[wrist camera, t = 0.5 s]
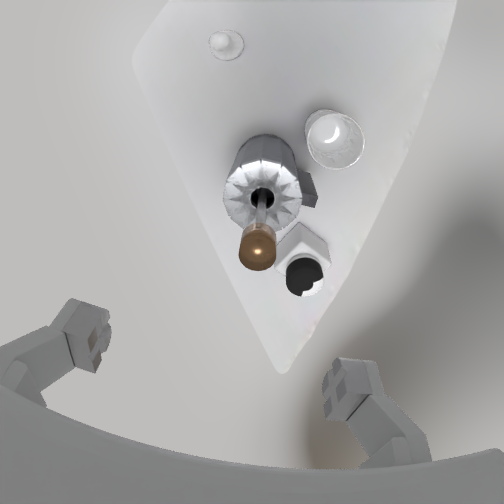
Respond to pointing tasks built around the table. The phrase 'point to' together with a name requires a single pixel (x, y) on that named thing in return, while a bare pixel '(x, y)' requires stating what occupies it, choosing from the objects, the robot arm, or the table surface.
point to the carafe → (267, 183)
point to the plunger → (259, 235)
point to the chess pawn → (226, 45)
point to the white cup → (333, 139)
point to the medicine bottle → (302, 261)
